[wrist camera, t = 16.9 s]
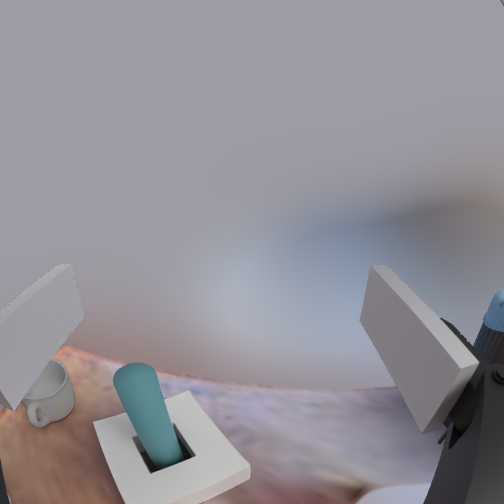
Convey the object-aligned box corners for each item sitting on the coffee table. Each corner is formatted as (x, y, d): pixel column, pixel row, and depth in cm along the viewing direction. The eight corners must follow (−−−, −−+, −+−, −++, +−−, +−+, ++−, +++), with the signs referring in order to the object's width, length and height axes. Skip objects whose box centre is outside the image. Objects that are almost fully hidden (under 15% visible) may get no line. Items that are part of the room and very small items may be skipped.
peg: (191, 467, 30) (163, 384, 24) (162, 479, 27) (119, 399, 21) (176, 445, 33) (147, 358, 27) (149, 455, 31) (108, 369, 24)
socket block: (250, 478, 28) (250, 465, 27) (142, 523, 20) (131, 514, 18) (192, 407, 41) (188, 390, 39) (103, 438, 32) (92, 421, 30)
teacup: (43, 384, 39) (27, 352, 36) (88, 390, 41) (73, 358, 38) (20, 436, 26) (-4, 405, 23) (70, 450, 28) (46, 419, 25)
